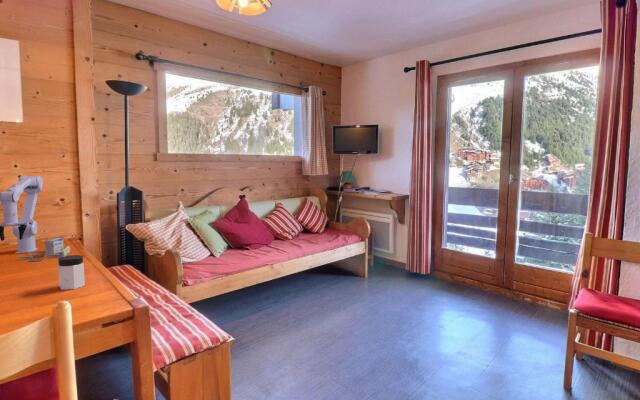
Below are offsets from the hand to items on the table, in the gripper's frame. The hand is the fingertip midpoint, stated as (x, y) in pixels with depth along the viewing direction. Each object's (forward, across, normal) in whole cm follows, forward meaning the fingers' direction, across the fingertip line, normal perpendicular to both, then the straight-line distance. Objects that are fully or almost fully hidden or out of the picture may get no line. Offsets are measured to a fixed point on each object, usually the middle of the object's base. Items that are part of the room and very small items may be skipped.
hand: (11, 239), depth 190 cm
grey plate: (+9, +15, -1) cm, 18 cm away
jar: (+10, +38, -67) cm, 78 cm away
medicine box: (+10, +18, -1) cm, 21 cm away
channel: (+9, +15, -1) cm, 18 cm away
